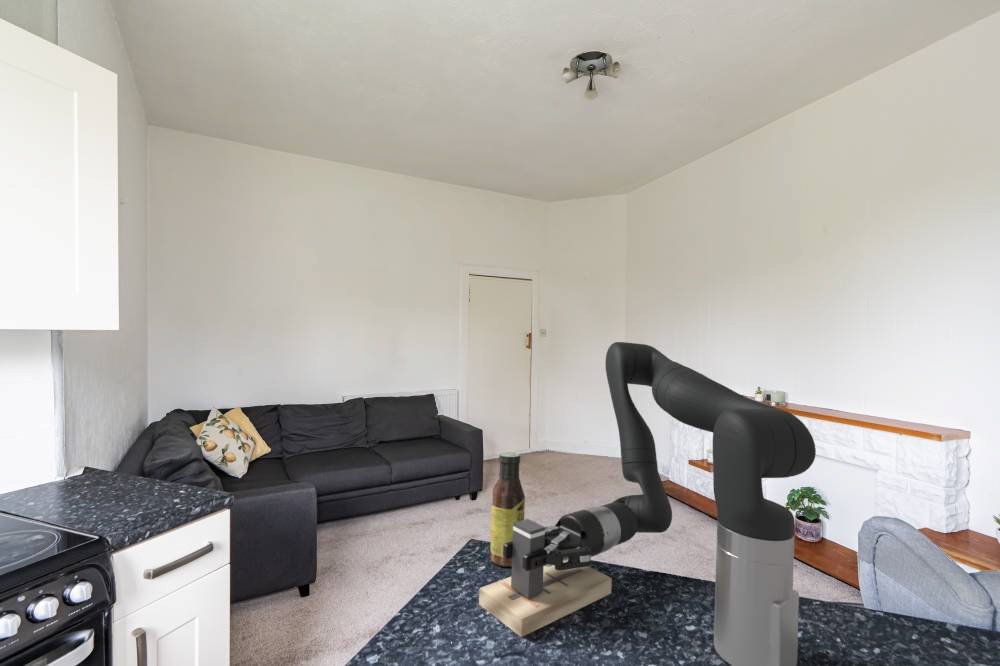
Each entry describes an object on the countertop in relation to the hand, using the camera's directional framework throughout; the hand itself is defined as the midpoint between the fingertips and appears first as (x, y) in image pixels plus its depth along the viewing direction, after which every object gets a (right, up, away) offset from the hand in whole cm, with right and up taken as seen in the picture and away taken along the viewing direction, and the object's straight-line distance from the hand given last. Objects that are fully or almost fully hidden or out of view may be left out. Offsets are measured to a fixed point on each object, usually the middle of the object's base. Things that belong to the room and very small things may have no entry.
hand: (514, 557), depth 71 cm
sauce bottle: (-1, -9, +17) cm, 19 cm away
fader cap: (+2, -6, +2) cm, 6 cm away
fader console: (+5, -9, +4) cm, 11 cm away
